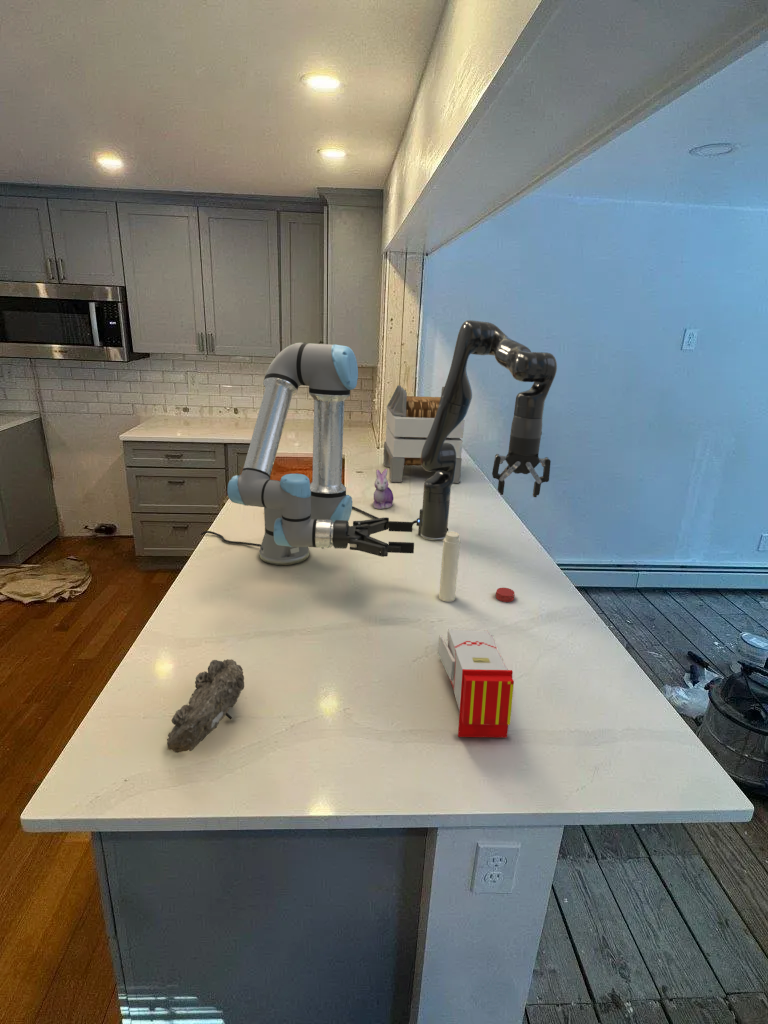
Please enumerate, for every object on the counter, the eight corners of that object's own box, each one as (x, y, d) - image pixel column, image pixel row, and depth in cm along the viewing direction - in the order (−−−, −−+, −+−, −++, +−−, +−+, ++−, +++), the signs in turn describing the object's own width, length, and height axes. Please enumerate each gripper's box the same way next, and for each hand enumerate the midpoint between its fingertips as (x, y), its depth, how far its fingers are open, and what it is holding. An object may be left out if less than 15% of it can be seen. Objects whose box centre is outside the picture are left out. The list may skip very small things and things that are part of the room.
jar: (436, 599, 156) (442, 535, 149) (441, 592, 160) (447, 529, 153) (452, 603, 154) (458, 538, 148) (456, 596, 158) (463, 532, 152)
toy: (488, 613, 130) (523, 677, 101) (484, 667, 133) (517, 744, 104) (435, 612, 130) (455, 676, 101) (432, 666, 133) (451, 743, 103)
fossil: (192, 660, 117) (244, 628, 112) (224, 691, 120) (276, 661, 115) (142, 746, 98) (202, 712, 93) (182, 779, 101) (242, 748, 96)
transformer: (382, 463, 289) (386, 382, 275) (445, 464, 293) (451, 384, 279) (390, 482, 257) (394, 392, 243) (460, 483, 261) (468, 394, 247)
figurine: (377, 511, 221) (379, 474, 216) (366, 503, 229) (367, 467, 224) (399, 508, 225) (401, 471, 220) (387, 500, 233) (388, 465, 228)
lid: (505, 592, 162) (506, 586, 161) (517, 600, 158) (518, 593, 157) (491, 595, 159) (492, 589, 159) (503, 603, 155) (504, 597, 155)
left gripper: (337, 528, 164) (411, 531, 164) (328, 568, 140) (413, 571, 140) (337, 504, 161) (412, 507, 161) (328, 540, 138) (415, 544, 138)
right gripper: (552, 433, 146) (543, 493, 151) (496, 429, 147) (489, 489, 152) (557, 439, 139) (547, 502, 144) (498, 435, 140) (491, 497, 145)
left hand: (413, 537), depth 151 cm, fingers open, 13 cm apart
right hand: (517, 495), depth 148 cm, fingers open, 8 cm apart
